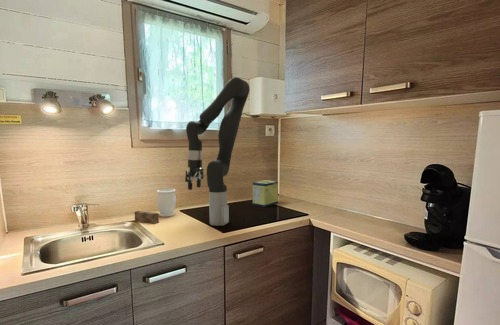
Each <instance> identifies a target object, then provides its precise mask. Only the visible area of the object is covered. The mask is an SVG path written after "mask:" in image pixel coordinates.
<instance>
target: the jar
mask: <svg viewBox="0 0 500 325" xmlns="http://www.w3.org/2000/svg"><path fill="white" fill-rule="evenodd" d="M175 192H176V189H175V188H160V189H157V190H156V193H157V196H156V204H157V209H158V212H159V213H158V214H159V217H162V218H163V217H164V218H168V217H172V216H174V215H175V209H176V204H177V197H176V193H175Z"/></svg>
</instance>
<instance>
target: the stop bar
mask: <svg viewBox="0 0 500 325" xmlns="http://www.w3.org/2000/svg"><path fill="white" fill-rule="evenodd" d="M159 214H160V213H158V212H151V211H143V210H142V211H141V210H136V211H134V221H135V222H142V223H148V224H154V225H155V224H158V223H159V217H160V216H159Z"/></svg>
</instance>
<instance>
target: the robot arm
mask: <svg viewBox="0 0 500 325" xmlns="http://www.w3.org/2000/svg"><path fill="white" fill-rule="evenodd" d="M249 95H250V84H249V83H248V82H247V81H246V80H244V79H242V78H240V77H232V78H230V79H229V80H228V81H227V83H226V84H225V85H224V87H223V88H222V90H220V92H219V94H218V95H217V96H216V98H215V99H213V101H212V102H211V103H210V104H209V105H208V106H207V108H205V109H204V110H203V111H202V112H201V113H200V115H199V120H197V121H195V120H190V121H189V122H188V123H187V124H186V128H185V130H186V136H187V137H186V138H187V140H188V153H187V168H189V170H187V169H186V170H185V177H184V179H185V181H184V182H186V183H187V190H189V191H190V190H193V182H194V180H195V179H196V187H197V188H201V187H202V186H201V184H202V180H203V179H204V168H203V141H202V140H201V139H200V138H199V135H202V134H204V133H205V132H206V131H207V129H208V128H209V126H210V125H211V123H213V122H214V121H215V120H216V119H217V118H218V117H219V116H220V115H221V113H222V111H223V109H224V108H225V106H226V104H228V102H230V101H231V103H230V107H229V108H228V110H227V112H226V113H225V115H223V118H222V120H221V121H220V125H219V129H218V134H217V136H218V138H217V139H218V147H219V148H218V149H219V150H218V154H217V157H216V160H212V161H210V162H209V163H208V164H207V167H206V182H207V187H208V194H209V195H208V198H209V199H208V203H209V204H208V207H209V208H208V209H209V214H208V215H209V225H211V226H218V227H219V226H225V225H227V224H228V223H229V222H230V220H229V219H230V217H229V216H230V215H229V213H230V212H229V207H230V206H229V204H228V186H227V185H226V184H225V182H224V177H226V176H227V174H228V173H229V170H230V165H231V160H232V159H231V158H232V153H233V149H234V146H235V143H236V138H237V135H238V131H239V127H240V123H241V119H242V114H243V110H244V108H245V105H246V102H247V100H248V97H249Z"/></svg>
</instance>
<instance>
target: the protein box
mask: <svg viewBox="0 0 500 325" xmlns="http://www.w3.org/2000/svg"><path fill="white" fill-rule="evenodd" d="M278 203H279V181H276V180H269V179H265V180H264V179H263V180H259V181H254V182H253V181H252V206H257V207H261V208H266V207H269V206H273V205H277V204H278Z"/></svg>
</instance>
